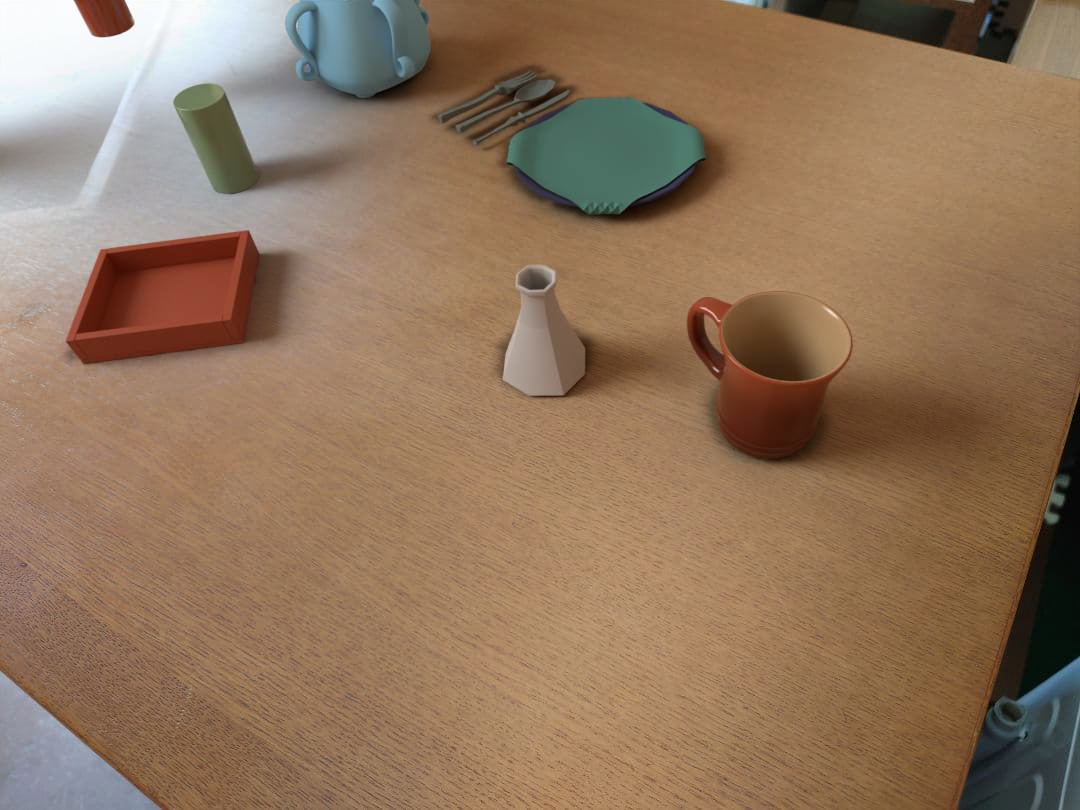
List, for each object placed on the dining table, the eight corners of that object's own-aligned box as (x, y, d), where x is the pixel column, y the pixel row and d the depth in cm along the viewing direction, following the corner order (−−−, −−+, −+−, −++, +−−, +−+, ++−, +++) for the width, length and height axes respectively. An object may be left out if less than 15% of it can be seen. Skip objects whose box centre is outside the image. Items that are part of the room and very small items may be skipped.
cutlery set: (602, 249, 75) (602, 230, 73) (423, 132, 90) (419, 114, 88) (738, 161, 82) (740, 142, 80) (551, 66, 98) (550, 48, 96)
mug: (843, 422, 60) (878, 329, 52) (778, 494, 56) (805, 405, 49) (716, 348, 66) (730, 254, 58) (650, 408, 62) (655, 317, 54)
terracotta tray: (82, 364, 70) (64, 341, 68) (115, 272, 78) (100, 249, 76) (243, 342, 70) (231, 319, 68) (259, 253, 78) (249, 229, 76)
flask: (521, 328, 69) (510, 239, 61) (598, 346, 67) (597, 256, 59) (489, 387, 65) (472, 299, 57) (570, 408, 63) (564, 320, 55)
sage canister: (208, 196, 85) (168, 113, 78) (216, 169, 89) (177, 86, 81) (256, 190, 85) (220, 106, 78) (261, 163, 89) (227, 80, 81)
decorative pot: (290, 106, 96) (250, -7, 86) (333, 42, 106) (302, -67, 95) (416, 110, 94) (391, -7, 83) (448, 44, 103) (429, -68, 93)
